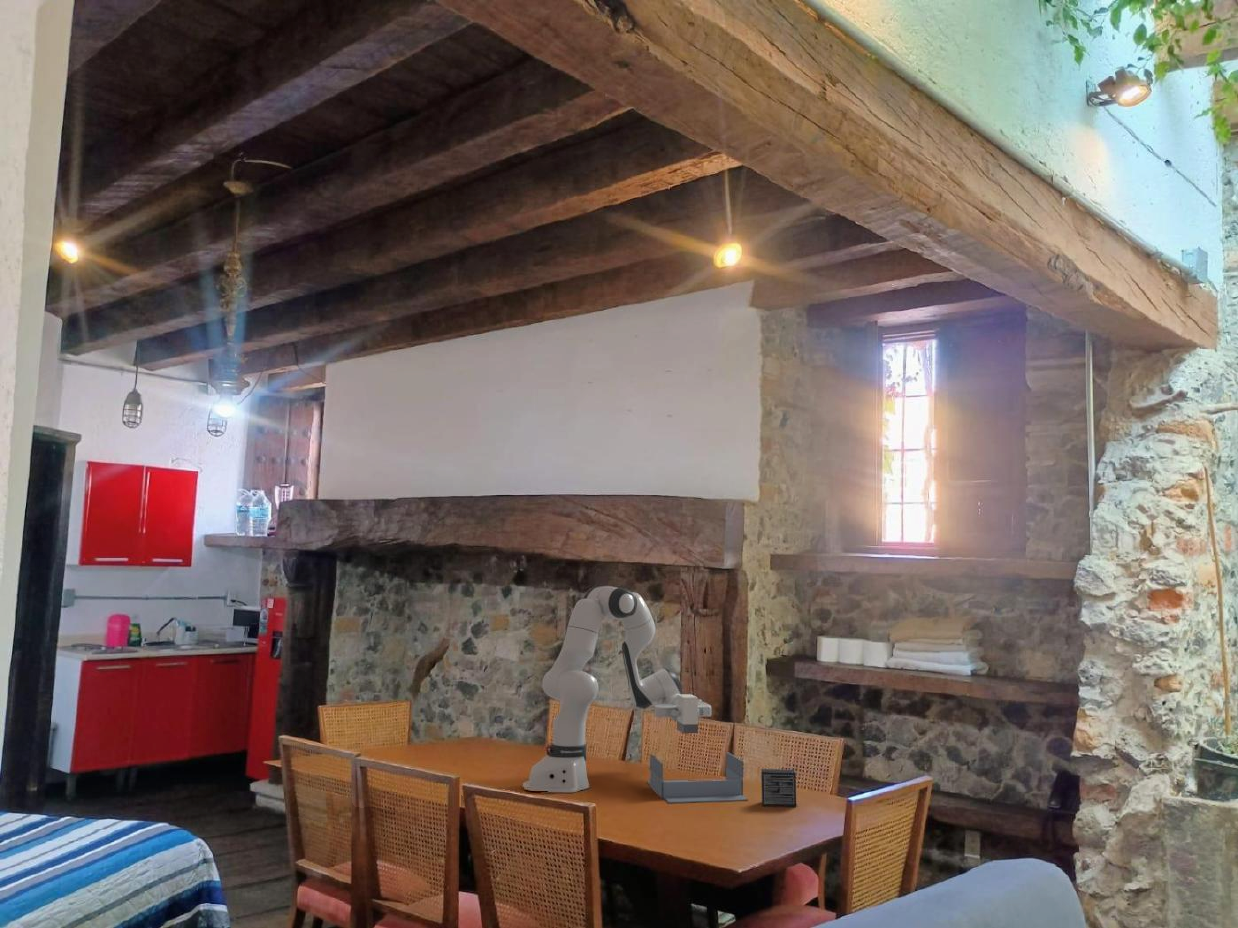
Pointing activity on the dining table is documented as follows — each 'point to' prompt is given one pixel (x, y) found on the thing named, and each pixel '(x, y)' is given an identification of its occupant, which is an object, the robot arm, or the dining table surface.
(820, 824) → the dining table surface
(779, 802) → the small box
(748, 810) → the dining table surface
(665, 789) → the blue-grey open walled piece
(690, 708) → the box
